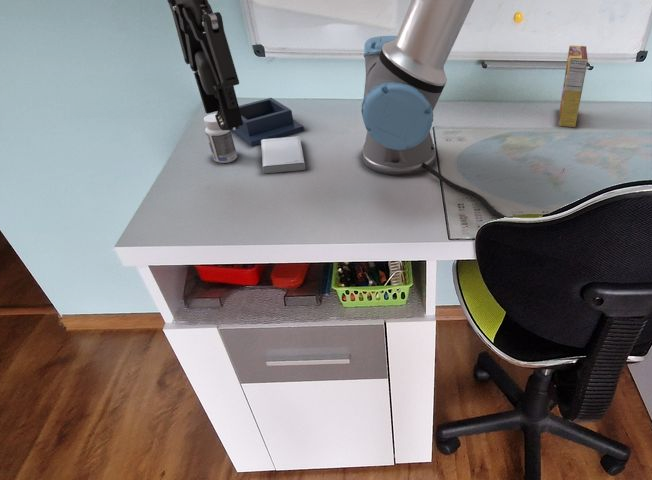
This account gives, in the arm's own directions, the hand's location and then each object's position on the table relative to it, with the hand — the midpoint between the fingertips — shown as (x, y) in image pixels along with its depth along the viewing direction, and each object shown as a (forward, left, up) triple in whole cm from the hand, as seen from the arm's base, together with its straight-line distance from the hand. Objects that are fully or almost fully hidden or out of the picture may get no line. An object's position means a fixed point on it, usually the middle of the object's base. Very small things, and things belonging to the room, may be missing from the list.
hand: (224, 118), depth 93 cm
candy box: (-17, -77, -14) cm, 80 cm away
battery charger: (0, 0, -1) cm, 1 cm away
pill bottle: (+15, -4, -14) cm, 21 cm away
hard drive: (+8, -13, -14) cm, 21 cm away
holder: (+23, -17, -14) cm, 32 cm away
